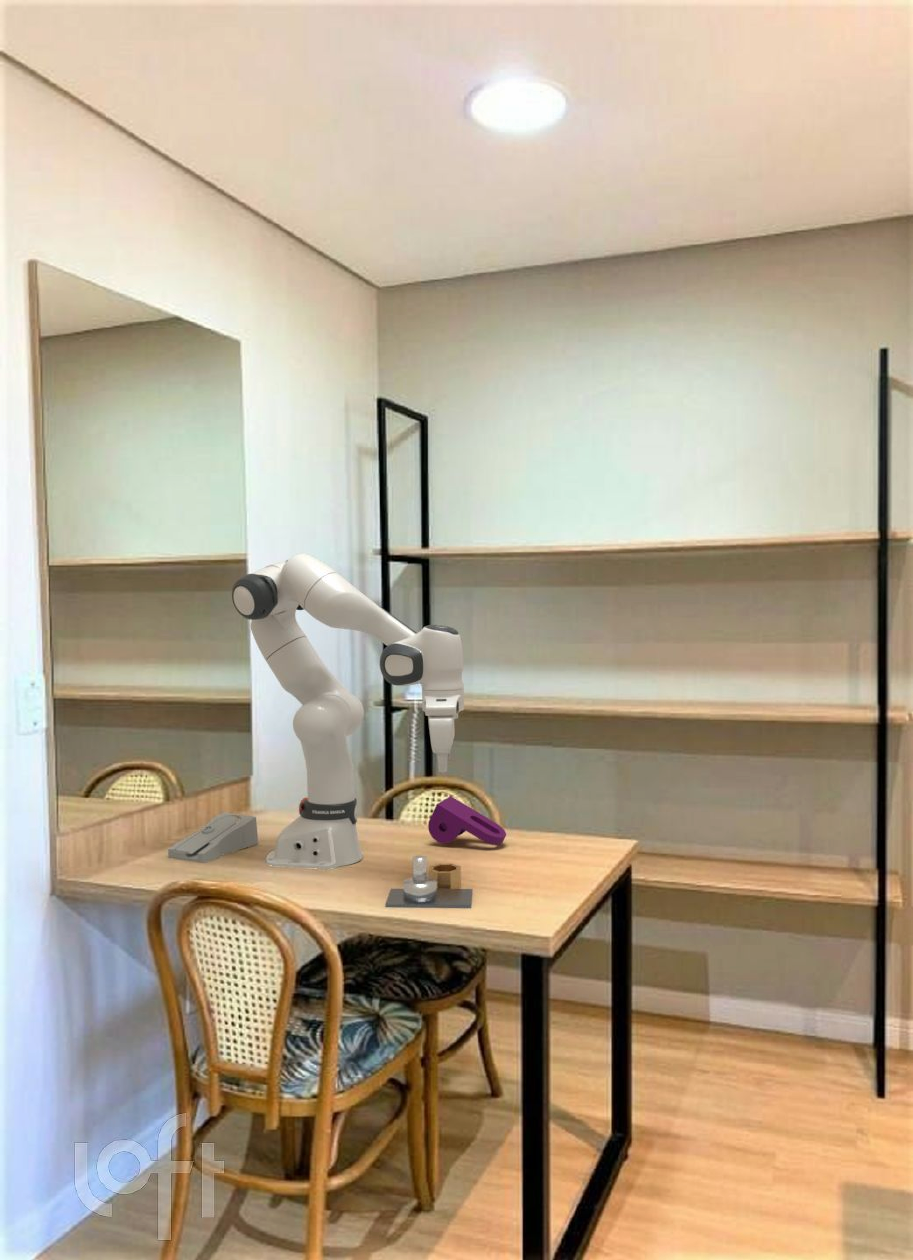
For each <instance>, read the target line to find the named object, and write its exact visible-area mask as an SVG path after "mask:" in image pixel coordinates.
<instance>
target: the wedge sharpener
mask: <svg viewBox="0 0 913 1260" xmlns="http://www.w3.org/2000/svg"><path fill="white" fill-rule="evenodd" d="M239 819H240V820H239ZM257 824H258V823H257V816H253V815H252V816H251V815H244V814H237V813H228V812H221V813H219V814H218V815H216V816H215V817H214V818H211V819H210V820H209V821H208V822H206V824H205V825H204V826H203V827H201V828H200V829H199V830H197V831H196V832H194V833H192V834H190V835H189V836H186V837H185V838H182V839H181V840H180V841H178V842H177V843H175V844H173V845H172V846H170V847H168V849H167V853H168V859H175V860H181V861H187V862H194V863H199V864H200V863H201V864H205V863H208V862H211V861H213V860H217V859H220V858H221V857H223V856H224V855H223V854H226V855H228V854H230V852H231V853H233V852H232V851H235V850H238V851H240V850H239V849H242V848H245V849H247V848H246V847H248V848H250V847H254V846H256V845H258V844H259V838H258V826H257ZM242 850H243V849H242ZM235 852H236V851H235ZM222 855H223V856H222ZM220 856H221V857H220Z"/></svg>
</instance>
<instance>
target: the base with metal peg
mask: <svg viewBox="0 0 913 1260" xmlns="http://www.w3.org/2000/svg"><path fill="white" fill-rule="evenodd" d="M427 860H428V859H427V856H425V855H414V856H412V877H409V878H406V879H404V880H403V881H402V888H390V891H389V893H388V896H387V898H386V902H385V904H384V905H385V906H384V907H385V908H408V909H409V908H411V909H412V908H414V909H415V908H417V909H418V908H419V909H420V908H423V909H424V908H425V909H472V903H473V895H474V893H473V892H474V890H473V888H460V889H437V881H436V880H435V879H433V878H430V877H429V876H428V873H427V872H428V870H427V865H428V863H427Z"/></svg>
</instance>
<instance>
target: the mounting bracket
mask: <svg viewBox="0 0 913 1260" xmlns="http://www.w3.org/2000/svg"><path fill="white" fill-rule="evenodd" d="M427 825H428V827H427V829H428V832H429V835H430V836H431V838H433V840H434V841H436V842H438V843H440V844H449V843H451V842H452V841H454V840H455V839H457V838H458V837H459V836H461V835H462V834H464V833H465V832H467V833H469V834H471V835H472V836H474V837H475V838H477V839H478V840H480V841H483V842H484V843H487V844H490V845H494V846H500V845H502V844H503V842H504V840H505V839H506V836H507V832H506V831H505V829H504V828H503V827H502V826H501V825H499V824H498V823H497V822H495V821H493V820H491V819H490V818H488V817H486V816H485V815H484V814H482V813H480V812H478V811H476V809H473V808H471V806H468V805H467V804H465V803H463V802H462V801H460V800H458V799H457V798H455V797H453V796H451V795H450V796H448V797H447V798H445V799H443V800H441V801H439V802H438V803H437V804H436V805H435V807H434V810H433V811H432V814H431V816H430V818H429V820H428V823H427Z"/></svg>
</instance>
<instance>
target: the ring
mask: <svg viewBox="0 0 913 1260" xmlns="http://www.w3.org/2000/svg"><path fill="white" fill-rule="evenodd" d="M461 868H462V867H461V865H457V864H454V863H438V864H437V863H436V864H434V865H430V866H429V869H428V877H430V878H433V879H435V880H436V881H437V889H462V888H461V887H462V876H461V875H462V872H461V871H462V869H461Z"/></svg>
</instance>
